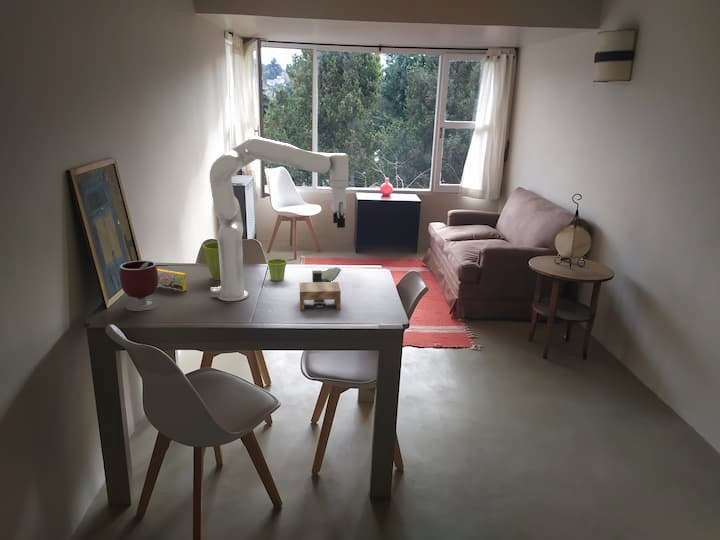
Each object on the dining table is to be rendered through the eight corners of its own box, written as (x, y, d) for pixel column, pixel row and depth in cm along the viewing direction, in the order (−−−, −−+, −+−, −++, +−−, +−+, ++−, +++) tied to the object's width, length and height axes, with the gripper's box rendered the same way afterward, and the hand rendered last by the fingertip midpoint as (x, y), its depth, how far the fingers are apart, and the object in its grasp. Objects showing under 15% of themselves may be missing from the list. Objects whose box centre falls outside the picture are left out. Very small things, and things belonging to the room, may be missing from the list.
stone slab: (312, 284, 253) (332, 282, 251) (311, 278, 252) (332, 277, 250) (323, 271, 274) (342, 270, 272) (322, 266, 273) (342, 265, 271)
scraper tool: (314, 301, 225) (314, 285, 223) (312, 285, 245) (312, 270, 243) (323, 300, 226) (323, 284, 224) (321, 285, 246) (321, 270, 244)
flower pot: (223, 271, 263) (221, 239, 259) (244, 277, 255) (243, 244, 250) (198, 278, 251) (196, 245, 247) (219, 285, 243) (217, 250, 239)
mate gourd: (116, 306, 214) (111, 257, 209) (149, 297, 225) (145, 251, 219) (136, 316, 205) (130, 265, 199) (169, 306, 215) (165, 258, 209)
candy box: (154, 287, 238) (152, 269, 236) (157, 286, 240) (156, 268, 238) (183, 292, 233) (182, 274, 230) (187, 291, 234) (185, 272, 232)
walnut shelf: (300, 310, 214) (300, 291, 211) (299, 300, 225) (299, 282, 223) (340, 310, 216) (340, 291, 213) (338, 300, 227) (338, 281, 225)
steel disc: (313, 309, 217) (313, 305, 216) (313, 304, 221) (313, 301, 221) (326, 308, 217) (326, 305, 217) (325, 304, 222) (325, 301, 222)
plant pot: (291, 278, 255) (291, 260, 252) (278, 283, 247) (278, 265, 245) (276, 275, 260) (276, 257, 257) (263, 279, 252) (262, 261, 249)
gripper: (326, 181, 228) (327, 221, 233) (333, 187, 212) (333, 229, 217) (344, 181, 230) (344, 220, 235) (352, 186, 214) (351, 229, 218)
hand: (338, 225), depth 226 cm, fingers open, 9 cm apart
